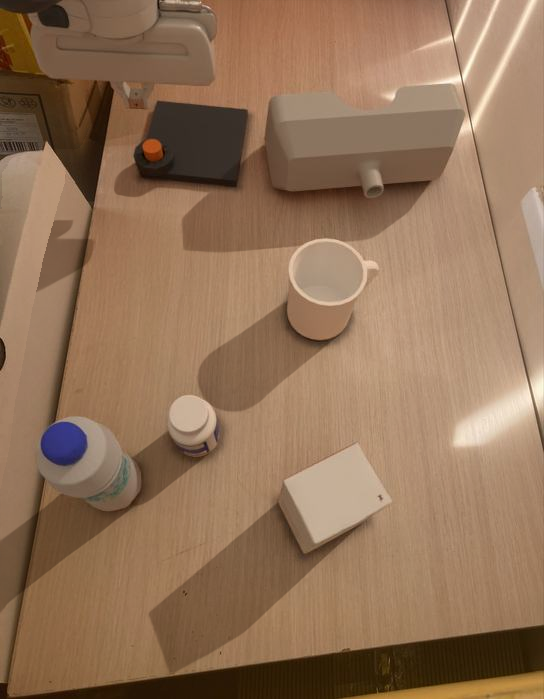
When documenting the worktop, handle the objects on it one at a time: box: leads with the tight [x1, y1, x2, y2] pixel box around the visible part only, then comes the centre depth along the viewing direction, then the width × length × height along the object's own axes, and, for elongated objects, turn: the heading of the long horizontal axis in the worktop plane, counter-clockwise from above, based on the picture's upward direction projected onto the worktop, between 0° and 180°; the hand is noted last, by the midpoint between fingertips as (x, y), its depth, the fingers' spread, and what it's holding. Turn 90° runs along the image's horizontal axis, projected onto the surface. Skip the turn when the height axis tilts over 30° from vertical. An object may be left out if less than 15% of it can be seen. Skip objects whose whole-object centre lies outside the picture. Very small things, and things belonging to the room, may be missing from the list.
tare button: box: [142, 139, 163, 162], centre depth 76 cm, size 3×3×2 cm
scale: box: [132, 100, 249, 188], centre depth 79 cm, size 15×15×3 cm
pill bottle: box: [166, 394, 221, 458], centre depth 59 cm, size 5×5×9 cm
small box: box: [277, 442, 393, 555], centre depth 54 cm, size 8×6×13 cm
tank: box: [264, 82, 466, 199], centre depth 74 cm, size 25×16×12 cm, turn 97°
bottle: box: [34, 415, 142, 512], centre depth 51 cm, size 7×7×20 cm
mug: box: [286, 237, 380, 342], centre depth 65 cm, size 11×9×10 cm
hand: (138, 105), depth 68 cm, fingers closed
